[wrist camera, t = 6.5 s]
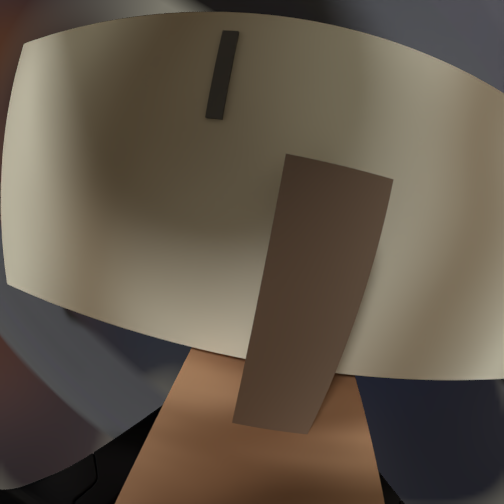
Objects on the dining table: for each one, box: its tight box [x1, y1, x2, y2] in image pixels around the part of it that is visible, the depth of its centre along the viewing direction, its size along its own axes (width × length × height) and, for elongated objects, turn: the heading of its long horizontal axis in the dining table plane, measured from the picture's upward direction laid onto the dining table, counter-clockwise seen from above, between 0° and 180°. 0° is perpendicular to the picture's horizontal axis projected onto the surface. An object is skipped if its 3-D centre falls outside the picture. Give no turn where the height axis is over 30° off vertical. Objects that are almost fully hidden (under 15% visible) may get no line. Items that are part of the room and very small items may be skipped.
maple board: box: [1, 12, 504, 380], centre depth 6 cm, size 24×7×2 cm, turn 81°
